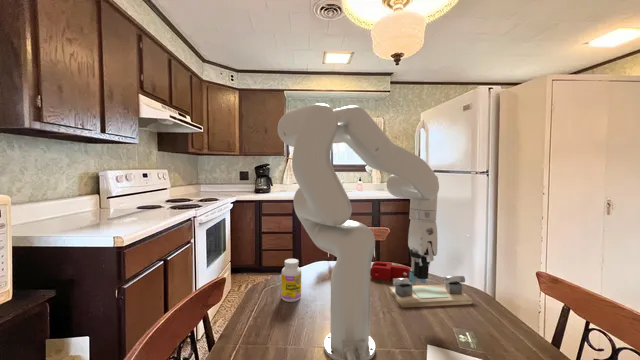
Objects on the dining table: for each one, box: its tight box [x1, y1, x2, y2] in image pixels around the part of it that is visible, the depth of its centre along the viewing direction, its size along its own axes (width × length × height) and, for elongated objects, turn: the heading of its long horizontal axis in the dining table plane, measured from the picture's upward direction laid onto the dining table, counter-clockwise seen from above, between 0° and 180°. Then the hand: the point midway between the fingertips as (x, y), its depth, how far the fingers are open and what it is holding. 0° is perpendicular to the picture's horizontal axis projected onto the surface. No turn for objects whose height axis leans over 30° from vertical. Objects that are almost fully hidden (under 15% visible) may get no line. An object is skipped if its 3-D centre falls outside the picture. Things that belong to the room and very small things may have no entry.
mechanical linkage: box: [370, 260, 411, 281], centre depth 115 cm, size 16×7×5 cm, turn 71°
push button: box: [408, 248, 432, 284], centre depth 85 cm, size 7×5×10 cm
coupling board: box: [388, 283, 474, 308], centre depth 98 cm, size 12×24×2 cm, turn 96°
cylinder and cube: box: [392, 275, 466, 297], centre depth 97 cm, size 5×25×5 cm, turn 96°
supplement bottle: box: [280, 258, 302, 303], centre depth 96 cm, size 7×7×13 cm
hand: (419, 275), depth 85 cm, fingers closed on push button, 3 cm apart
